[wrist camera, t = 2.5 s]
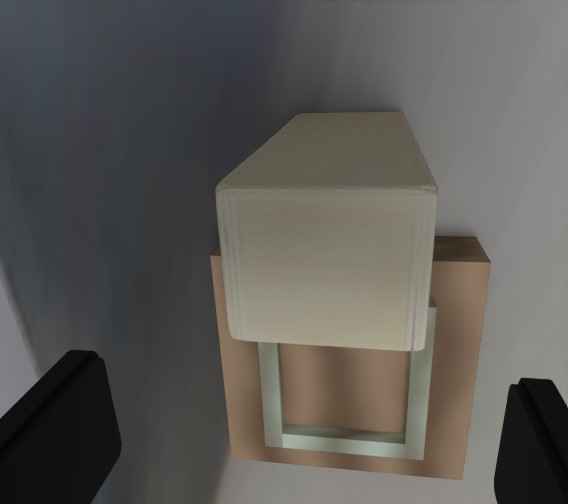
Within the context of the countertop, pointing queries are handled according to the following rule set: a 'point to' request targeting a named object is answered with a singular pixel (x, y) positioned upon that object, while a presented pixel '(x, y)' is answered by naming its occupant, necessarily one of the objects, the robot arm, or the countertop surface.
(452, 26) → the countertop surface
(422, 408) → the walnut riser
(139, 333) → the countertop surface
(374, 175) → the toy refrigerator
